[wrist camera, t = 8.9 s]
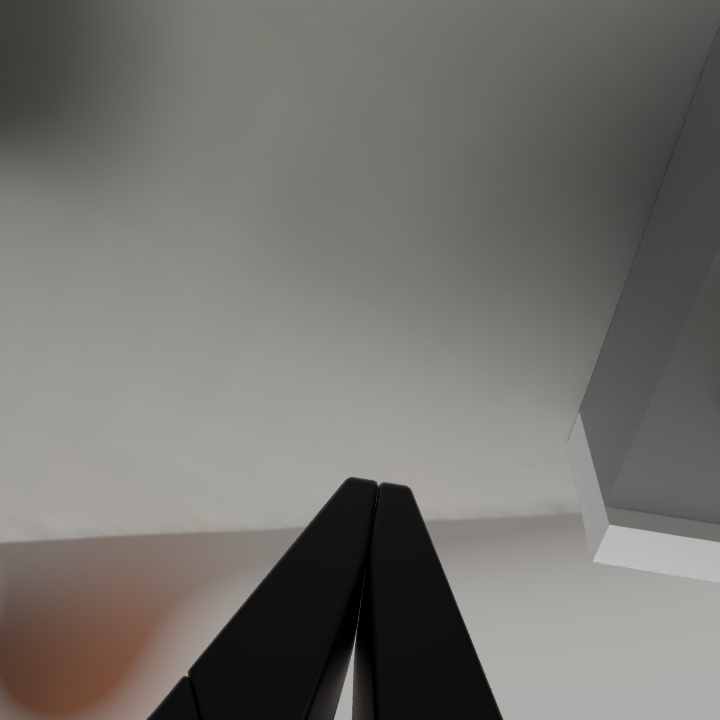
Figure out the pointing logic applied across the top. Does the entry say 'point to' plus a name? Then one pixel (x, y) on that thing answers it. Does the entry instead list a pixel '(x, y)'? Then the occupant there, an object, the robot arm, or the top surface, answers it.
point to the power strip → (662, 376)
